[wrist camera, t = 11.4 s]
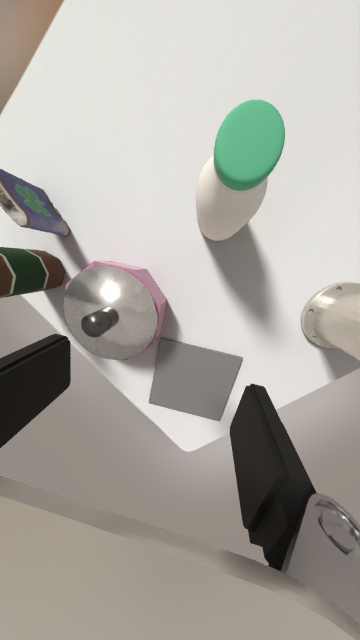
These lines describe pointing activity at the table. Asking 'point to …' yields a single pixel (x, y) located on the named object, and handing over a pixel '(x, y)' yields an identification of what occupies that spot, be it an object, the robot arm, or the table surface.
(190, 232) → the table surface
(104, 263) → the pink octagonal dish
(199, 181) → the milk bottle
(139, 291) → the lid
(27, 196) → the flask
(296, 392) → the table surface
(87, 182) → the table surface
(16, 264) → the beer bottle
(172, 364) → the mat
